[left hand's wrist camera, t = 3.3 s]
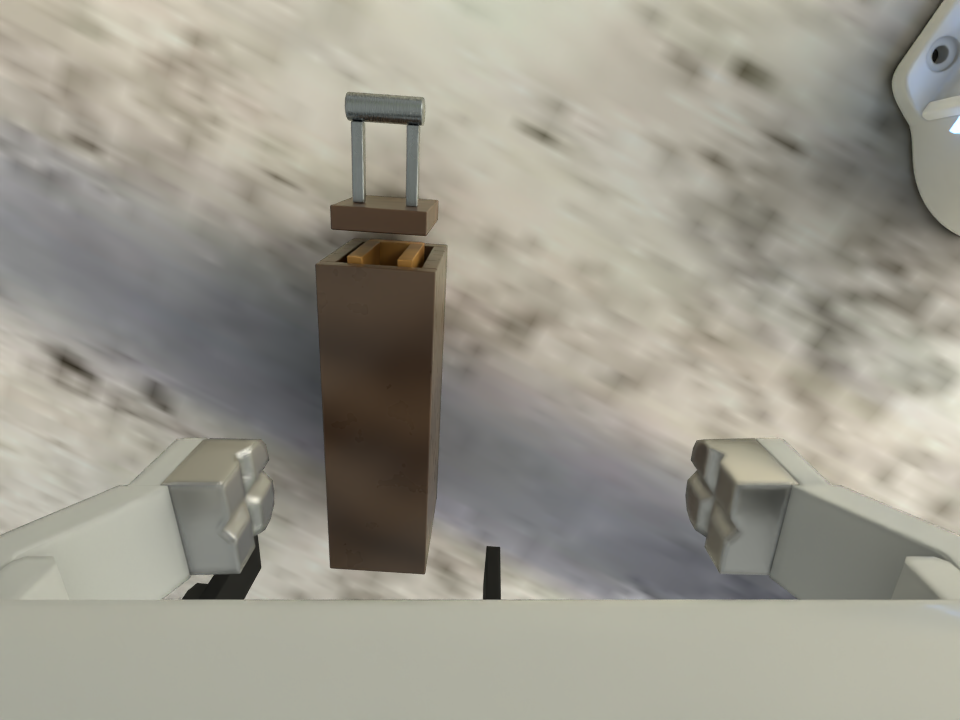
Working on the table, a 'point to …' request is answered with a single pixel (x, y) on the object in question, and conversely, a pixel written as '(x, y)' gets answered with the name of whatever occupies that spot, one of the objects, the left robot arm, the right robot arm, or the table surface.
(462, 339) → the table surface
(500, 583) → the right robot arm
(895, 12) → the table surface
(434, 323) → the cabinet
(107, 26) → the table surface
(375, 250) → the drawer
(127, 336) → the table surface
